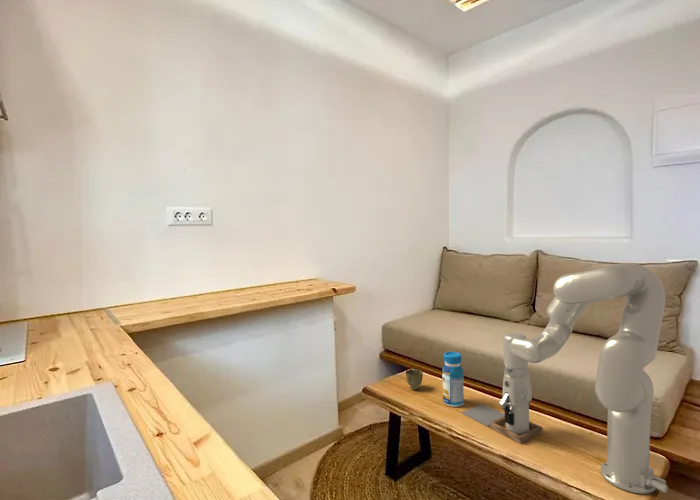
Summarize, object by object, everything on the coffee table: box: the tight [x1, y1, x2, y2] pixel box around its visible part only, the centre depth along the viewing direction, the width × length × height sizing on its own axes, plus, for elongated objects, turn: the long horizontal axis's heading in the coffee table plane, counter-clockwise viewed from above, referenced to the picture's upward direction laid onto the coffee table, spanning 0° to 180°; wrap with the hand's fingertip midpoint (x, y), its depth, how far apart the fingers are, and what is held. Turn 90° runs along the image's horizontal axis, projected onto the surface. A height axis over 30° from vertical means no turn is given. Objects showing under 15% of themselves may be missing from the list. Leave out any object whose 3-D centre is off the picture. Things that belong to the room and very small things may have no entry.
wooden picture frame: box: [489, 416, 543, 444], centre depth 134 cm, size 12×12×2 cm
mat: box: [461, 403, 505, 428], centre depth 145 cm, size 12×12×1 cm
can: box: [505, 398, 530, 435], centre depth 133 cm, size 8×8×12 cm
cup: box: [405, 368, 424, 391], centre depth 170 cm, size 8×7×8 cm
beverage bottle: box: [441, 351, 465, 408], centre depth 155 cm, size 8×8×20 cm
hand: (517, 419), depth 133 cm, fingers closed on can, 7 cm apart
